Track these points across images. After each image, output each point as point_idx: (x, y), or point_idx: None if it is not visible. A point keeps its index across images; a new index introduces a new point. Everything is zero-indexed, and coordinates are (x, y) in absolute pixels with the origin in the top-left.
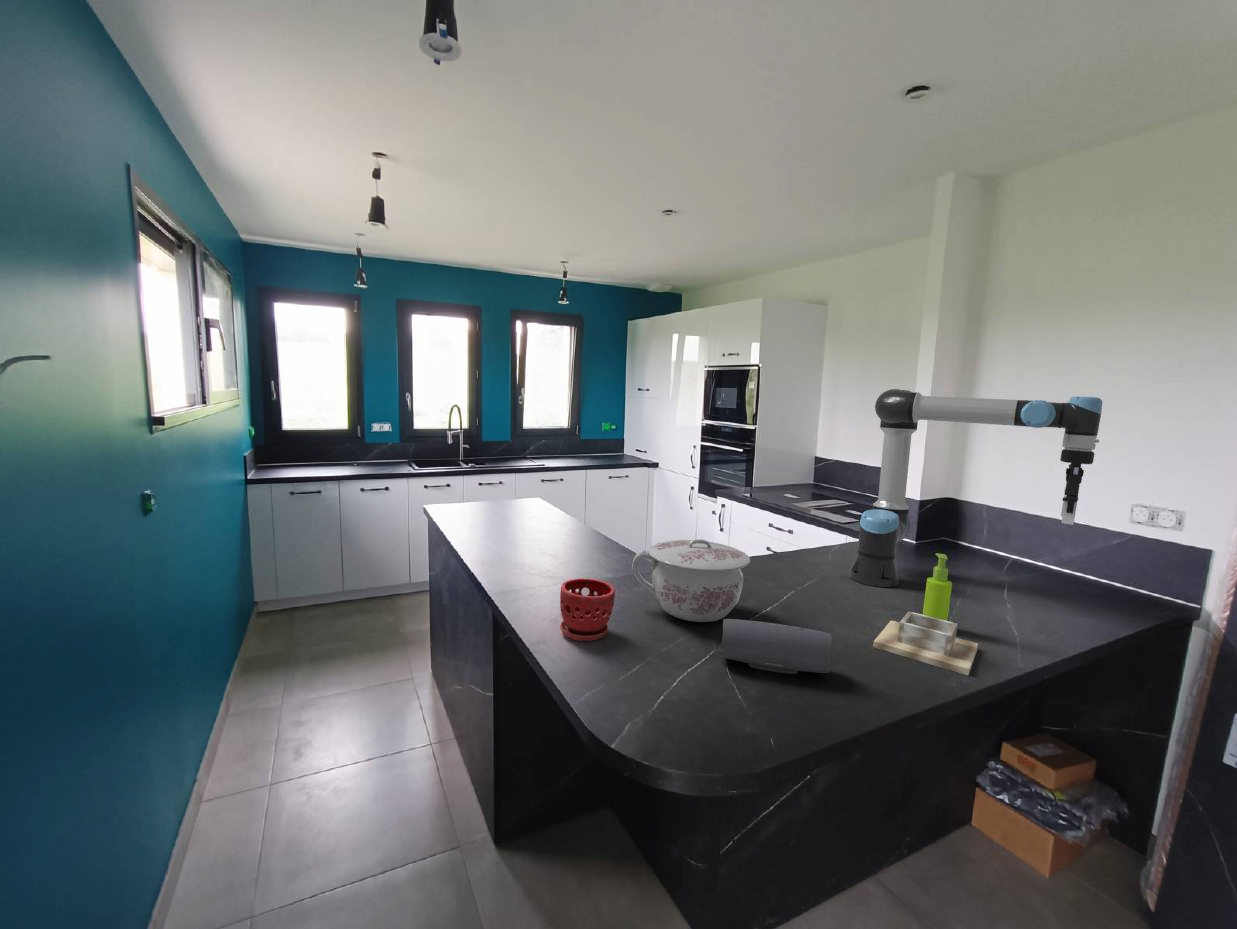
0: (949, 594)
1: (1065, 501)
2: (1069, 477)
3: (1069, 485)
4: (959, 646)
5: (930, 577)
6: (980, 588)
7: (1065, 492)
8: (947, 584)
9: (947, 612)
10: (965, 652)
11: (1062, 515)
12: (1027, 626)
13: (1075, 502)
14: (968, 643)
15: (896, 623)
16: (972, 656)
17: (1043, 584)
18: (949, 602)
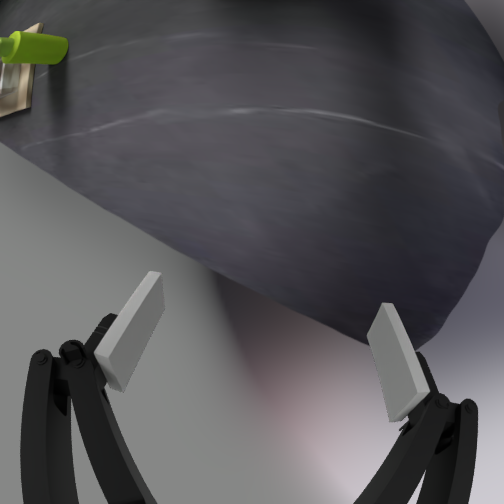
0: (16, 63)
1: (96, 352)
2: (35, 495)
3: (25, 431)
4: (13, 97)
5: (16, 33)
6: (338, 72)
7: (423, 414)
8: (2, 61)
9: (35, 63)
10: (7, 106)
11: (381, 311)
12: (136, 140)
13: (108, 383)
14: (21, 100)
15: (34, 31)
16: (4, 114)
17: (443, 207)
18: (27, 63)
